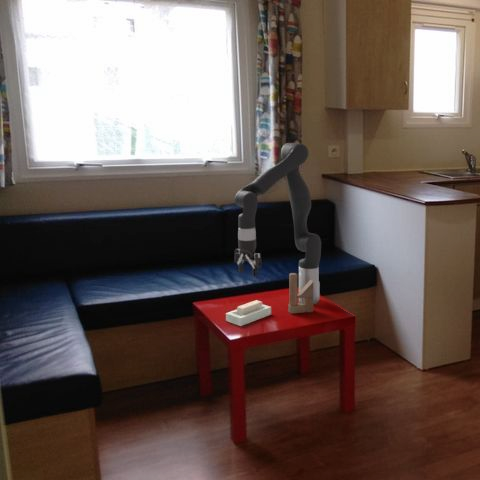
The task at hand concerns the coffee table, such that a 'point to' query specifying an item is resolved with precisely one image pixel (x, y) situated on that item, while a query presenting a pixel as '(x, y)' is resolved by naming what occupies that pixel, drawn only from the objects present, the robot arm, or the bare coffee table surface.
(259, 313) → the white rectangular tray
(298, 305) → the wooden bracket
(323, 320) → the coffee table surface
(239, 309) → the cream rectangular block
